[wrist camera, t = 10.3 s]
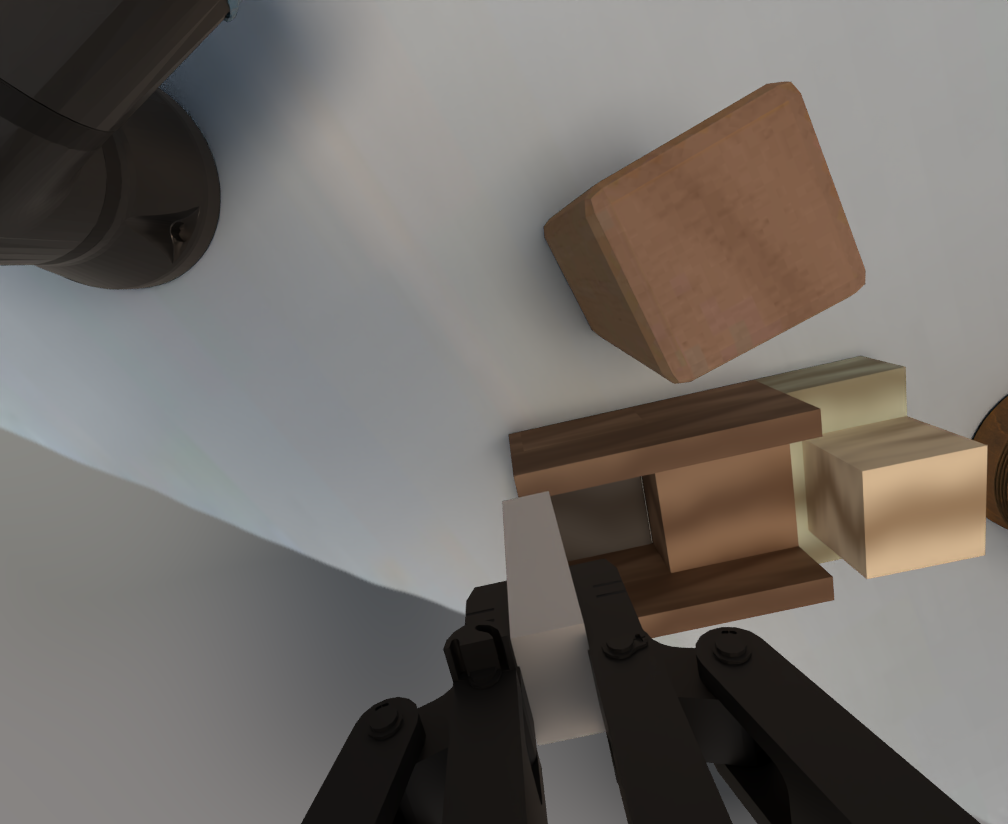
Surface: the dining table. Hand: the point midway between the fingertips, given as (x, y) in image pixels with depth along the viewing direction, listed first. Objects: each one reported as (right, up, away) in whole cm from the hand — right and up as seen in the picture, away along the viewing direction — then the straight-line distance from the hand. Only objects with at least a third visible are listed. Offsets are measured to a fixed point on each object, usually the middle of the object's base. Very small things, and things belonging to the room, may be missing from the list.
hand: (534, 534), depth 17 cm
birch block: (+27, -1, +25) cm, 37 cm away
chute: (+16, -2, +30) cm, 34 cm away
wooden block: (+8, +16, +26) cm, 31 cm away
